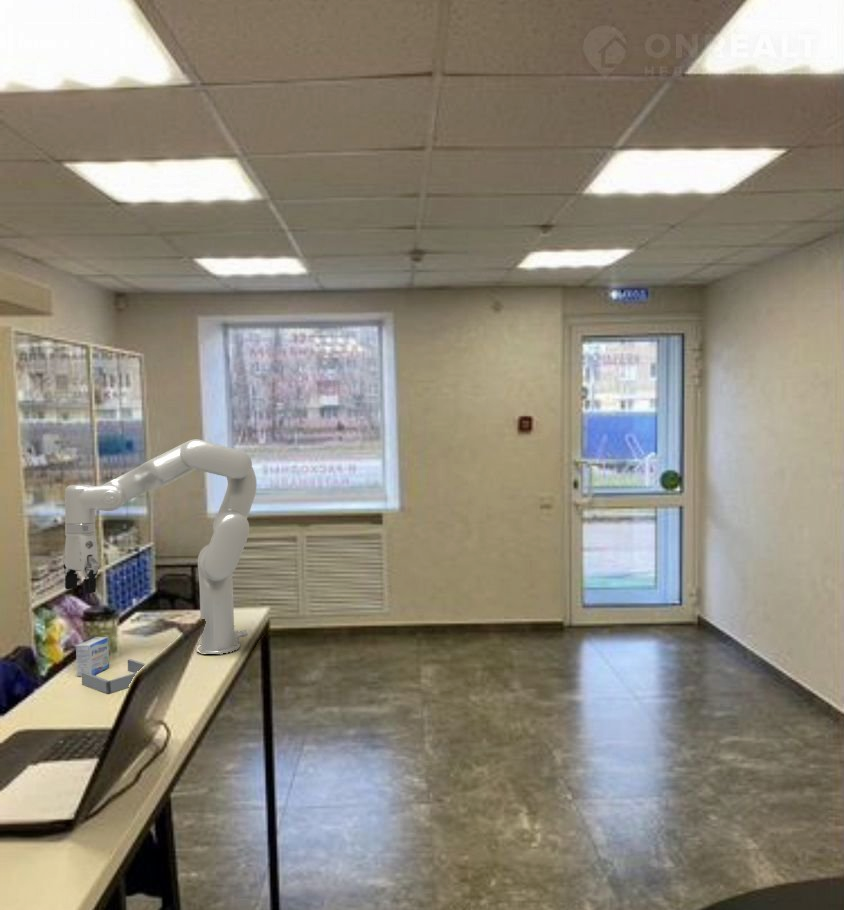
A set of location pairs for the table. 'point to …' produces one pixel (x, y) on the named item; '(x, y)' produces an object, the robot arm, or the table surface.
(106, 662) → the medicine box
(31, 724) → the table surface
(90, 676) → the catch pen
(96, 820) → the table surface
